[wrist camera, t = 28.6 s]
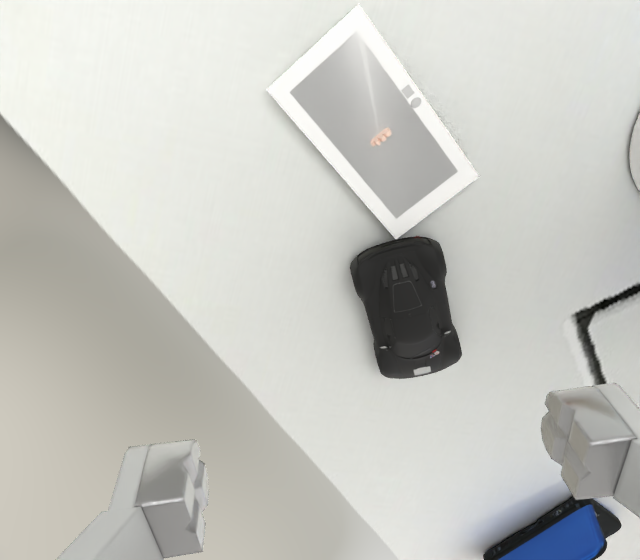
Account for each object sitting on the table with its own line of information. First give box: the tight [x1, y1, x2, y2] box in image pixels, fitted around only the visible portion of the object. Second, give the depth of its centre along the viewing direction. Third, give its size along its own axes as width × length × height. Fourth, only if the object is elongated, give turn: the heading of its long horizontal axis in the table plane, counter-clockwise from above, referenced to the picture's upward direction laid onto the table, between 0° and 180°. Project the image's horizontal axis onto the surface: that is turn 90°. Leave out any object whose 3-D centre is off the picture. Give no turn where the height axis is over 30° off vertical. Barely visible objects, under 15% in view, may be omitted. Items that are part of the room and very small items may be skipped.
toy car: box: [350, 236, 462, 379], centre depth 44 cm, size 7×15×4 cm, turn 16°
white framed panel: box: [266, 4, 480, 239], centre depth 37 cm, size 8×15×2 cm, turn 40°
